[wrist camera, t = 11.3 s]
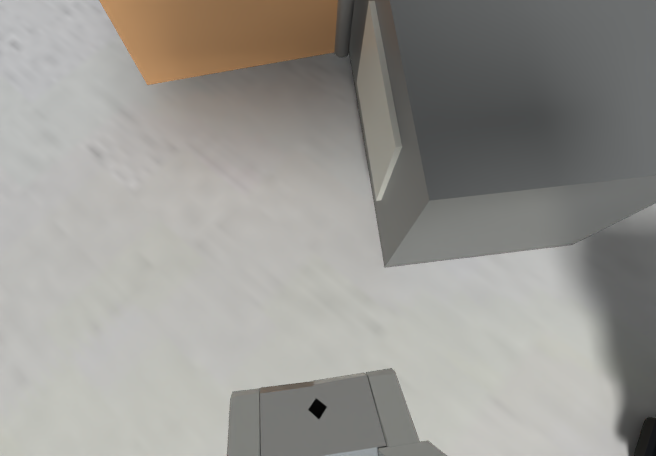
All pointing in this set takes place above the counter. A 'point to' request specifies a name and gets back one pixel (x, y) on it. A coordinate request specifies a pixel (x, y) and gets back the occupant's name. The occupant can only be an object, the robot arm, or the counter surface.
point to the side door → (226, 33)
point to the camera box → (504, 121)
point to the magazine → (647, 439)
